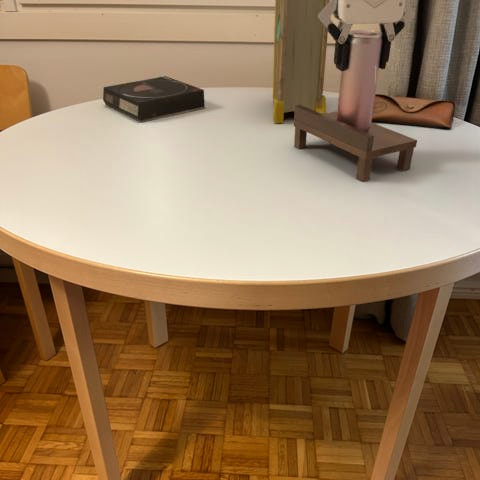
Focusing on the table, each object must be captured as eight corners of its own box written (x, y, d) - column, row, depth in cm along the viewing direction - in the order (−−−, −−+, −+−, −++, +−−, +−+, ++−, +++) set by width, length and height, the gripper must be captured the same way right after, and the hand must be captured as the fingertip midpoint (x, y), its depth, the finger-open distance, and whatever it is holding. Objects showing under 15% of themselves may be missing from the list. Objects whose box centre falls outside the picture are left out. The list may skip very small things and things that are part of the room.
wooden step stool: (338, 136, 104) (342, 97, 100) (411, 169, 91) (420, 125, 86) (292, 146, 100) (294, 105, 96) (362, 182, 86) (368, 136, 82)
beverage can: (339, 122, 95) (349, 28, 86) (373, 125, 94) (386, 30, 85) (332, 132, 91) (341, 34, 82) (366, 136, 89) (380, 36, 80)
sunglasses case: (363, 119, 111) (369, 87, 110) (364, 128, 118) (370, 97, 117) (453, 128, 106) (460, 93, 105) (449, 136, 113) (456, 104, 112)
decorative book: (271, 98, 126) (275, -56, 108) (317, 99, 126) (329, -56, 107) (272, 125, 110) (277, -50, 92) (325, 125, 110) (341, -51, 92)
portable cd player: (103, 105, 123) (101, 87, 120) (167, 93, 131) (165, 76, 128) (138, 123, 112) (135, 103, 110) (204, 108, 120) (203, 89, 118)
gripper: (326, -67, 71) (315, 76, 82) (445, -69, 74) (419, 71, 85) (311, -68, 77) (303, 65, 88) (421, -70, 80) (400, 61, 90)
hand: (360, 67), depth 86 cm, fingers closed on beverage can, 6 cm apart
